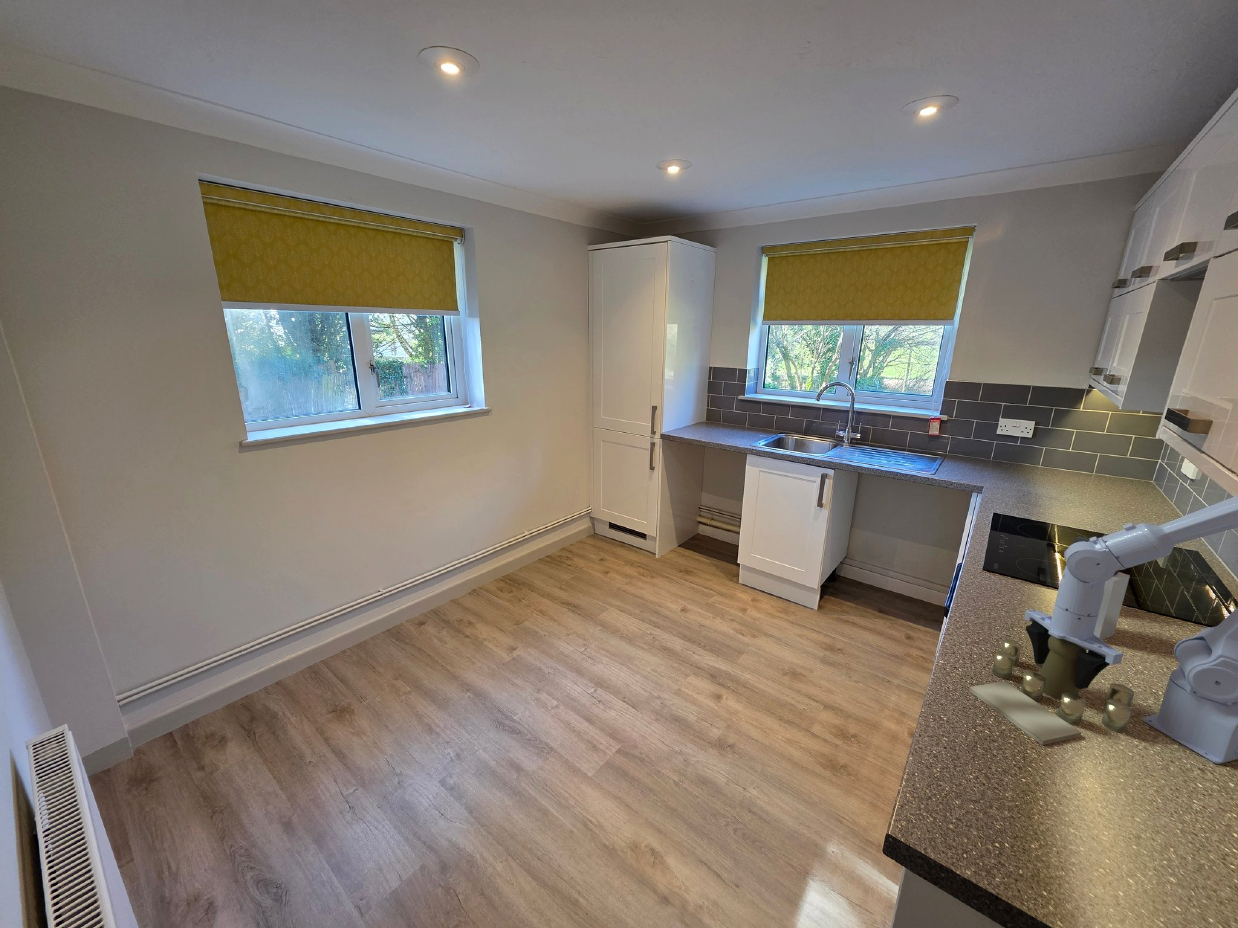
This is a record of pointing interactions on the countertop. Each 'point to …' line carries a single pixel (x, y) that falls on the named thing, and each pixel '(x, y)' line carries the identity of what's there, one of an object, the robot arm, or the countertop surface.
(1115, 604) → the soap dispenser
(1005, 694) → the pale grey metal board
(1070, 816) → the countertop surface
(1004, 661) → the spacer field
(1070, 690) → the cork
